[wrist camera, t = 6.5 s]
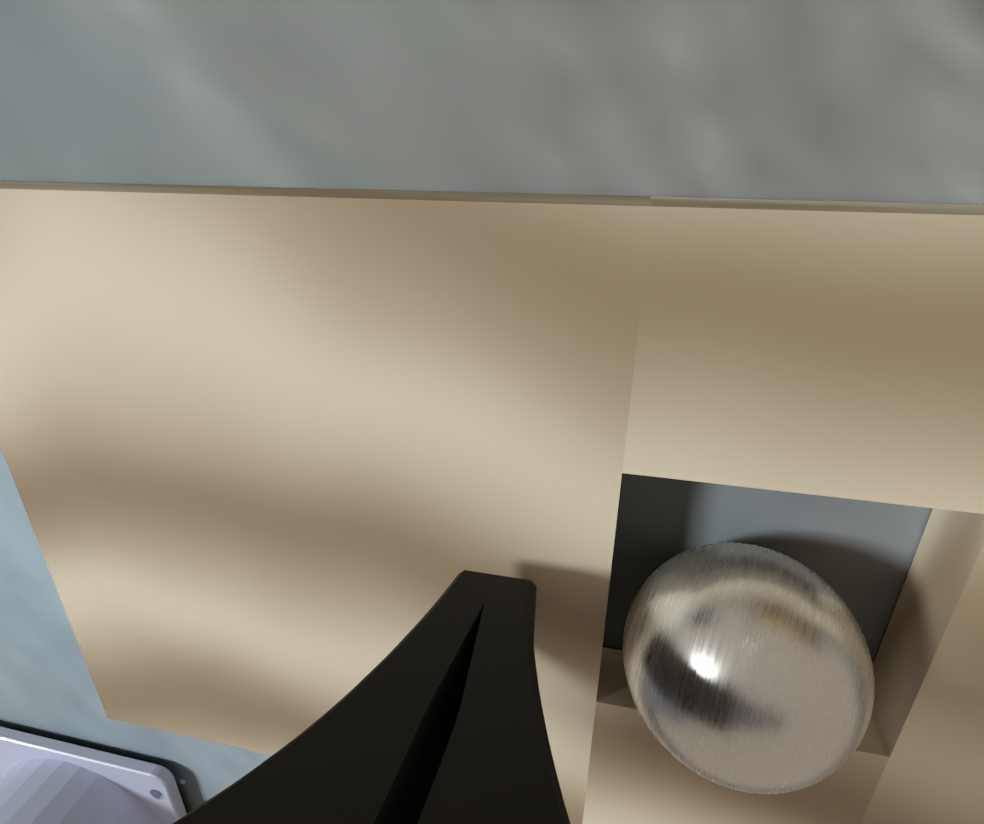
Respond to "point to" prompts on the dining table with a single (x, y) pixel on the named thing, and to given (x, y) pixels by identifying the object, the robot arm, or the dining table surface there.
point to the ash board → (485, 446)
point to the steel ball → (748, 668)
